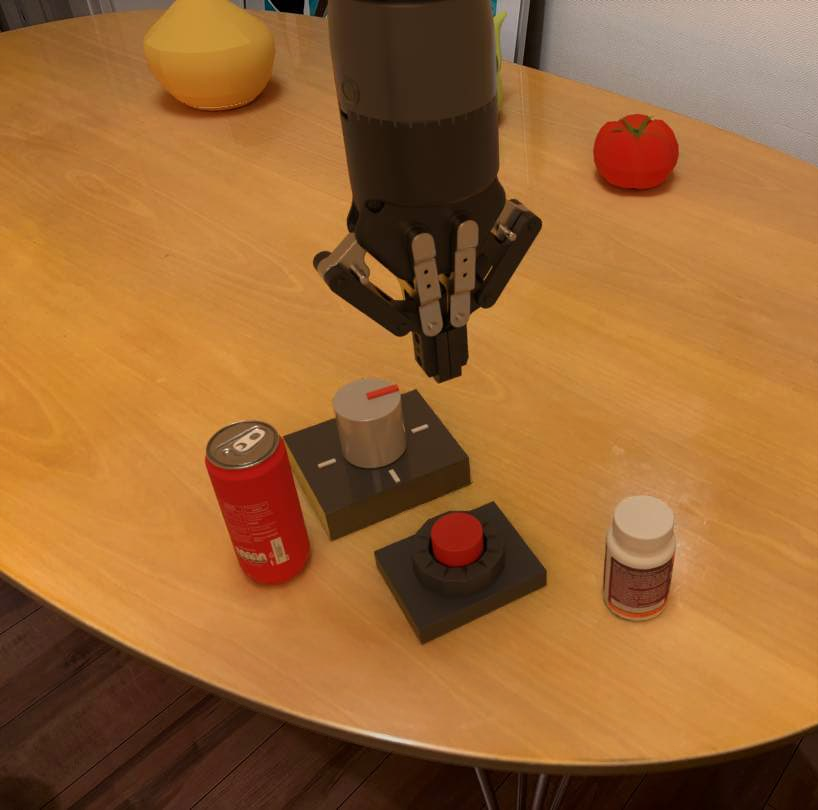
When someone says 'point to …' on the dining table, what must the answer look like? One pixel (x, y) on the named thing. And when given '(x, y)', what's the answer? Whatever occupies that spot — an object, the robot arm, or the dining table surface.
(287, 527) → the beverage can
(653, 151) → the tomato
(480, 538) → the button
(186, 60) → the vase
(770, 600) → the dining table surface
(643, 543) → the pill bottle
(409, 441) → the panel
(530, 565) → the control block
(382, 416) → the hob knob
